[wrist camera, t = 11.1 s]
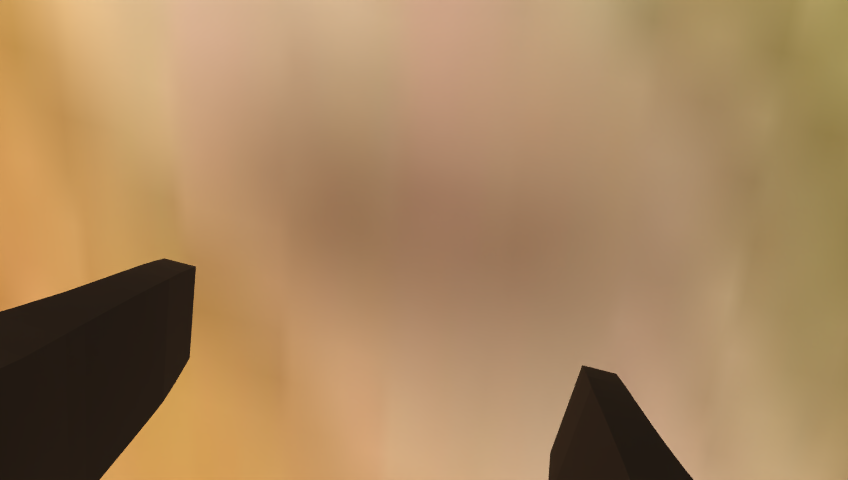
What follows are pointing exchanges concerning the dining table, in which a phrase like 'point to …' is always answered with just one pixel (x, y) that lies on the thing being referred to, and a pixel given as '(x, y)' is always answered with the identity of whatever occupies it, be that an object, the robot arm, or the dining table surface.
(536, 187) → the dining table surface
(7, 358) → the robot arm
